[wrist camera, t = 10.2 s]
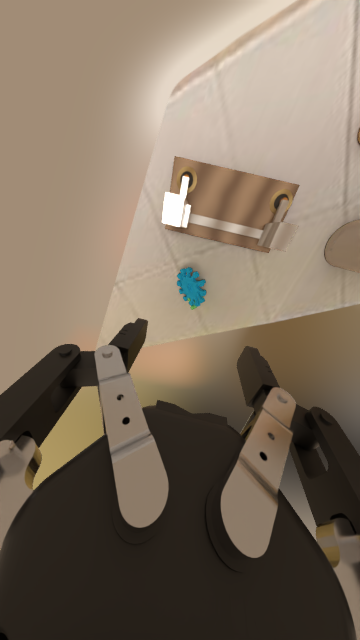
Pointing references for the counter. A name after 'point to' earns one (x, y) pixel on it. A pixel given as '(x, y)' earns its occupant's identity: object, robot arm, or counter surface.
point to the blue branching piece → (191, 287)
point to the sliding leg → (177, 206)
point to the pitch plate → (235, 206)
